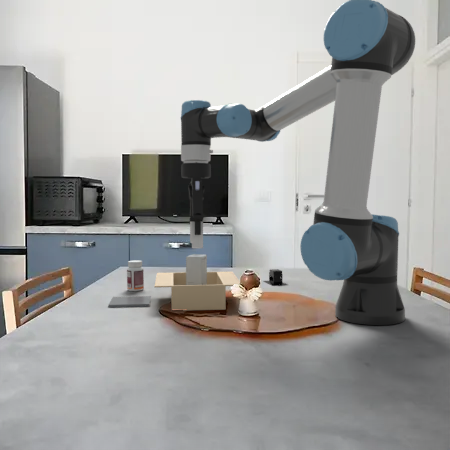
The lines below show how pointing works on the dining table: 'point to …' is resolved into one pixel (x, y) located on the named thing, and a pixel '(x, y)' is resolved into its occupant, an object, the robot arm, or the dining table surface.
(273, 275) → the black boxy piece
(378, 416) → the dining table surface
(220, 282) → the carton
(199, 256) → the skincare box
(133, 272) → the pill bottle
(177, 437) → the dining table surface
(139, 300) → the coaster
